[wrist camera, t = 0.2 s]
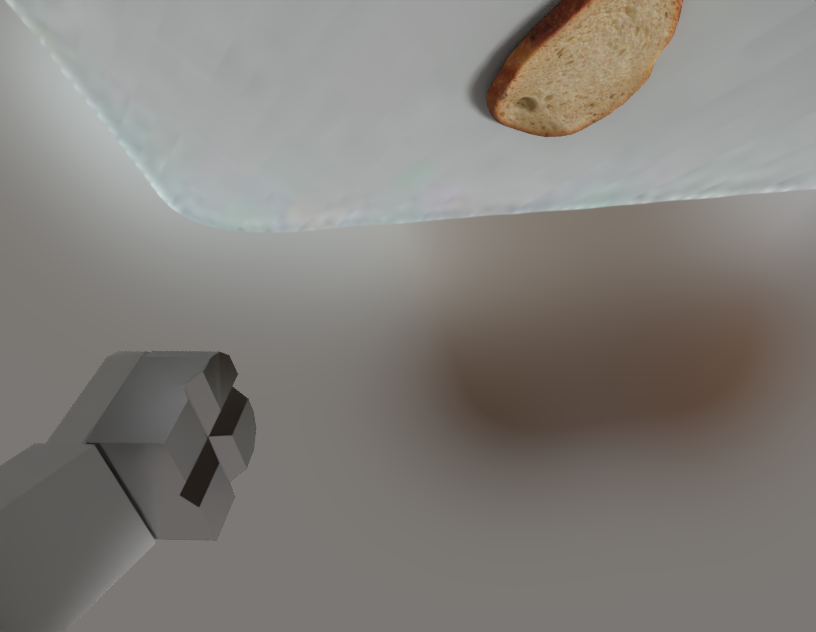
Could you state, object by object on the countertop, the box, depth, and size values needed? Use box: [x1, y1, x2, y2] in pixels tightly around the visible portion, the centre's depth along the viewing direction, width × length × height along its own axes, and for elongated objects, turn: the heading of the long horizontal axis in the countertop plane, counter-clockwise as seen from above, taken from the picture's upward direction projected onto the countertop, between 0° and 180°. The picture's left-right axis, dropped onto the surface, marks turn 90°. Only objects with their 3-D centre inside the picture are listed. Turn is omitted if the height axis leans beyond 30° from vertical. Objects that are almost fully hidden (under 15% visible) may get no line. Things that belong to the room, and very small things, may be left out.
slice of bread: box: [487, 0, 683, 137], centre depth 65 cm, size 18×18×4 cm
